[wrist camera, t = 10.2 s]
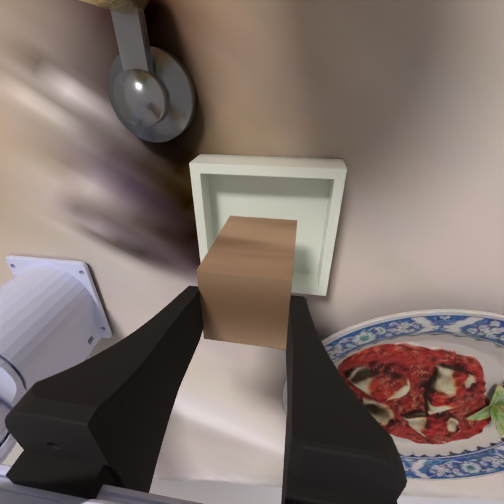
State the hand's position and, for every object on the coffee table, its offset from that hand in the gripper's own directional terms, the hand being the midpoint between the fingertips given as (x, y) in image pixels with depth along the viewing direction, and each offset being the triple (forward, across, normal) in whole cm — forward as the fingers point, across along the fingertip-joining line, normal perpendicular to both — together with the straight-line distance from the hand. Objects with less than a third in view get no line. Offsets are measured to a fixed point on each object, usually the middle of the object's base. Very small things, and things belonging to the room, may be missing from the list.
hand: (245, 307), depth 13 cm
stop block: (+6, 0, 0) cm, 6 cm away
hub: (+9, +7, -8) cm, 14 cm away
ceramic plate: (+10, -15, +18) cm, 25 cm away
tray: (+9, 0, 0) cm, 9 cm away
